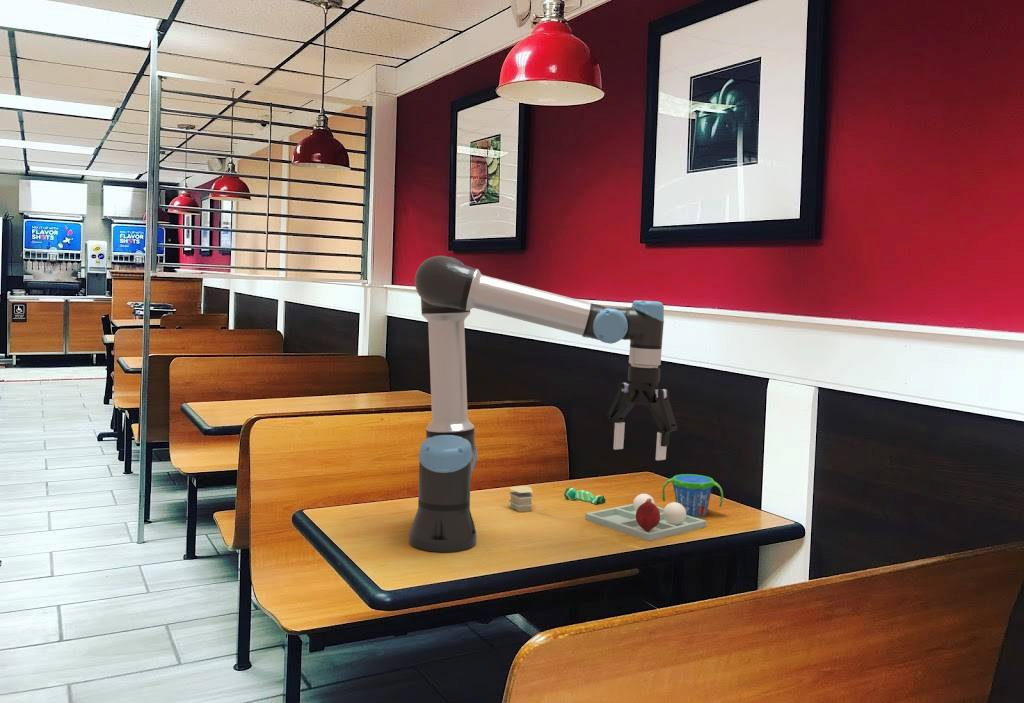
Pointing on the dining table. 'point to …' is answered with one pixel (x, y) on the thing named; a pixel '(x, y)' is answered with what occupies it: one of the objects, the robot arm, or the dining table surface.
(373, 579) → the dining table surface
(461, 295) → the robot arm
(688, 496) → the snack cup
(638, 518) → the onion
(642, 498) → the egg far left
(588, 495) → the candy
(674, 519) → the egg far right
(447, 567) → the dining table surface
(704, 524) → the egg tray
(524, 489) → the layered cracker stack
